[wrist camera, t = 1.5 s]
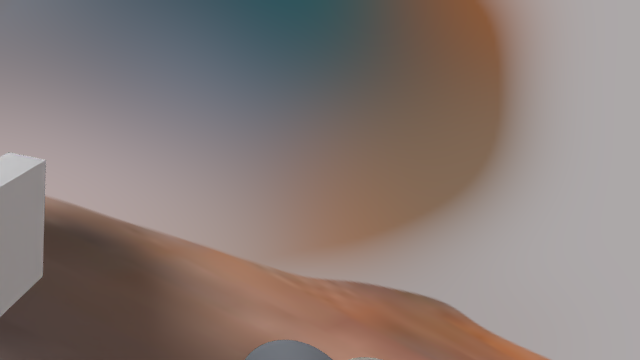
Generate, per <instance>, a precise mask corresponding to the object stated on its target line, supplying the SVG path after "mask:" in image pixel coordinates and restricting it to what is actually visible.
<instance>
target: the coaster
mask: <svg viewBox="0 0 640 360" xmlns="http://www.w3.org/2000/svg"><path fill="white" fill-rule="evenodd" d="M245 360H332V359H331V358H330V357H329V356H328V355H326V354H325V353H323V352H322V351H320V350H319V349H317V348H315V347H313V346H311V345H309V344H306V343H303V342H298V341H293V340H277V341H272V342H268V343H266V344H263V345H261V346H259V347H258V348H256V349H255V350H253V351H252V352H251V353H250V354H249V355H248V356H247V357H246V359H245Z"/></svg>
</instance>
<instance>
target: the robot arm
mask: <svg viewBox="0 0 640 360" xmlns="http://www.w3.org/2000/svg"><path fill="white" fill-rule="evenodd" d="M45 173H46V160H44V159H39V158H34V157H29V156H24V155H20V154H14V153H10V152H9V153H7V154H5V155H3V156H1V157H0V317H1V316H2V315H3V314H4V313H5V312H6V311H7V310H8V309H9V308H10V307H11V306H12V305H13V304H14V303H15V302H16V301H17V300H19V299H20V298H21V297H22V296H23V295H24V294H25V293H26V292H27V291H28V290H29V289H30V288H31V287H32V286H33V285H34V284H35V283H36V282H37V281H38V280H40V279H41V278H42V277H43V247H44V210H45Z"/></svg>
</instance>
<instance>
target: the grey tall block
mask: <svg viewBox="0 0 640 360" xmlns="http://www.w3.org/2000/svg"><path fill="white" fill-rule="evenodd" d="M350 360H381V359H376V358H369V357H360V358H353V359H350Z"/></svg>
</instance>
